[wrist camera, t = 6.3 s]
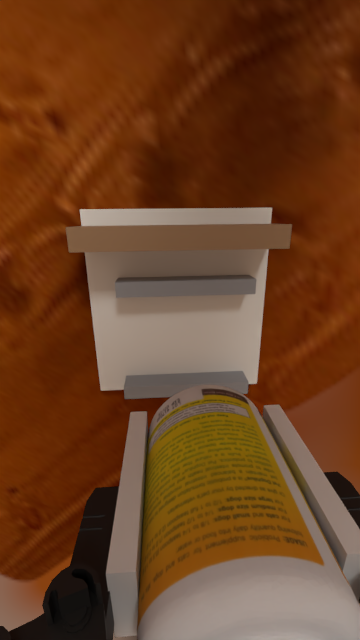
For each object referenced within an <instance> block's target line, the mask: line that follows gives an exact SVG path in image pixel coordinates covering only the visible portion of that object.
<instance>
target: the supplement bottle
mask: <svg viewBox="0 0 360 640" xmlns="http://www.w3.org/2000/svg"><path fill="white" fill-rule="evenodd" d="M137 640H360V606H359V604H358V601H357V599H356V597H355V595H354V593H353V591H352V588H351V586H350V585H349V583H348V581H347V579H346V577H345V575H344V573H343V571H342V569H341V567H340V565H339V563H338V562H337V560H336V558H335V556H334V554H333V552H332V550H331V548H330V546H329V544H328V542H327V540H326V538H325V536H324V534H323V533H322V531H321V529H320V527H319V525H318V523H317V521H316V519H315V517H314V515H313V513H312V511H311V509H310V507H309V505H308V503H307V501H306V499H305V498H304V496H303V494H302V492H301V490H300V488H299V486H298V484H297V482H296V480H295V478H294V476H293V475H292V473H291V470H290V468H289V467H288V465H287V463H286V461H285V459H284V457H283V455H282V454H281V452H280V450H279V448H278V446H277V444H276V442H275V440H274V439H273V437H272V435H271V433H270V431H269V429H268V427H267V425H266V423H265V421H264V419H263V418H262V416H261V414H260V412H259V411H258V409H257V408H256V406H255V405H254V404H253V403H252V402H251V401H250V400H249V399H248V398H247V397H246V396H244V395H243V394H241V393H239V392H238V391H236V390H233V389H231V388H227V387H224V386H218V385H200V386H195V387H191V388H188V389H185V390H183V391H181V392H179V393H177V394H175V395H173V396H172V397H171V398H169V399H168V400H167V401H166V402H164V403H163V405H162V406H161V407H160V408H159V409H158V411H157V412H156V414H155V415H154V417H153V419H152V421H151V424H150V428H149V433H148V441H147V458H146V476H145V494H144V514H143V527H142V552H141V570H140V586H139V601H138V622H137Z"/></svg>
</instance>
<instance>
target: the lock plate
mask: <svg viewBox="0 0 360 640" xmlns="http://www.w3.org/2000/svg"><path fill="white" fill-rule="evenodd" d="M271 216H272V208H181V209H80V217H81V226H75V227H66V234H67V241H68V249H69V252H85V260H86V269H87V277H88V286H89V294H90V303H91V312H92V320H93V329H94V337H95V346H96V355H97V363H98V372H99V380H100V389H101V391H107V390H124V396H125V399H139V398H161V397H172V396H173V395H175V394H177V393H179V392H181V391H183V390H185V389H188V388H191V387H195V386H200V385H218V386H224V387H227V388H231V389H233V390H236V391H238V392H239V393H241V394H247V393H248V384H257V376H258V365H259V353H260V342H261V330H262V319H263V308H264V296H265V285H266V273H267V262H268V250H269V249H289V248H290V239H291V230H292V224H271Z"/></svg>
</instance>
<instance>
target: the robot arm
mask: <svg viewBox="0 0 360 640" xmlns="http://www.w3.org/2000/svg"><path fill="white" fill-rule="evenodd" d="M263 419H264V421H265V423H266V425H267V427H268V429H269V431H270V433H271V435H272V437H273V439H274V440H275V442H276V444H277V446H278V448H279V450H280V452H281V454H282V455H283V457H284V459H285V461H286V463H287V465H288V467H289V468H290V470H291V473H292V475H293V476H294V478H295V480H296V482H297V484H298V486H299V488H300V490H301V492H302V494H303V496H304V498H305V499H306V501H307V503H308V505H309V507H310V509H311V511H312V513H313V515H314V517H315V519H316V521H317V523H318V525H319V527H320V529H321V531H322V533H323V534H324V536H325V538H326V540H327V542H328V544H329V546H330V548H331V550H332V552H333V554H334V556H335V558H336V560H337V562H338V563H339V565H340V567H341V569H342V571H343V573H344V575H345V577H346V579H347V581H348V583H349V585H350V586H351V588H352V591H353V593H354V595H355V597H356V599H357V601H358V604H359V603H360V495H359V493H358V492H357V491H356V489H355V488H354V486H353V485H352V484H351V483H350V482H349V481H348V480H347V479H346V478H344V477H343V476H342V475H341V474H339V473H338V472H325V473H323V472H322V470H321V468H320V467H319V465H318V464H317V462H316V461H315V459H314V458H313V456H312V455H311V453H310V451H309V450H308V448H307V447H306V445H305V444H304V442H303V441H302V439H301V438H300V436H299V435H298V433H297V431H296V430H295V428H294V427H293V425H292V424H291V422H290V421H289V419H288V417H287V416H286V414H285V413H284V411H283V410H282V408H281V407H280V405H264V409H263ZM147 441H148V422H147V411H141V412H131V413H130V419H129V426H128V432H127V439H126V445H125V452H124V458H123V465H122V471H121V478H120V484H119V486H118V487H103V488H95V490H94V491H93V493H92V494H91V496H90V497H89V499H88V500H87V502H86V506H85V510H84V514H83V519H82V522H81V525H80V531H79V533H78V537H77V541H76V545H75V548H74V552H73V556H72V560H71V564H70V566H69V567H67V568H65V569H64V570H62V571H61V572H60V573H59V574H58V575H57V576H56V577H55V578H54V579H53V580H52V582H51V583H50V585H49V587H48V589H47V591H46V592H45V597H44V601H43V605H42V606H43V609H44V614H42V615H41V616H39V617H37V618H36V619H34V620H32V621H30V622H28V623H26V624H24V625H22V626H20V627H18V628H16V629H13V630H11V631H9V632H8V631H7V630H6V629H5V628H4V627H3V626H0V640H113V632H114V635H115V637H126V636H136V635H137V622H138V601H139V586H140V570H141V552H142V527H143V514H144V494H145V476H146V458H147Z"/></svg>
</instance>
